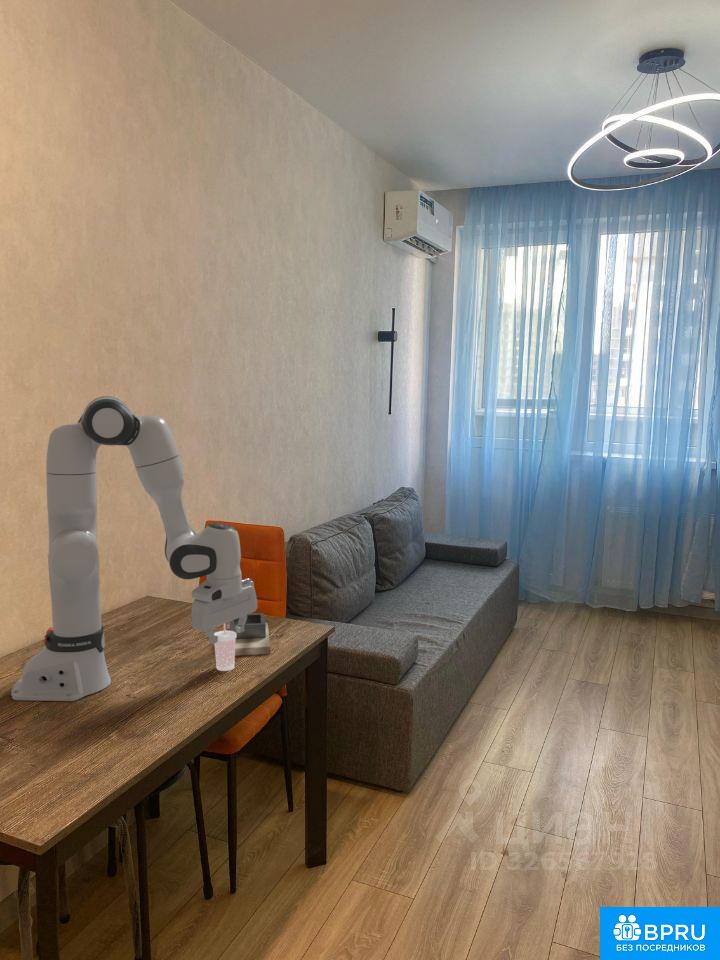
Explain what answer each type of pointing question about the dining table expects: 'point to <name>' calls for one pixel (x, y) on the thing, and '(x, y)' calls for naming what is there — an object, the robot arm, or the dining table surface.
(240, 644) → the socket board
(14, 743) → the dining table surface
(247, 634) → the cup collar
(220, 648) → the beverage cup
